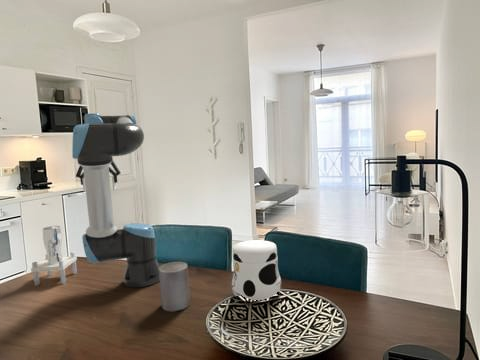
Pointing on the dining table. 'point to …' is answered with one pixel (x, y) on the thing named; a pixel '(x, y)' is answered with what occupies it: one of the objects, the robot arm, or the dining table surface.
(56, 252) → the silver metal goblet
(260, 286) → the milk container
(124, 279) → the robot arm
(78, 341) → the dining table surface
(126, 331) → the dining table surface
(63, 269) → the shelf stand
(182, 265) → the pillar candle
